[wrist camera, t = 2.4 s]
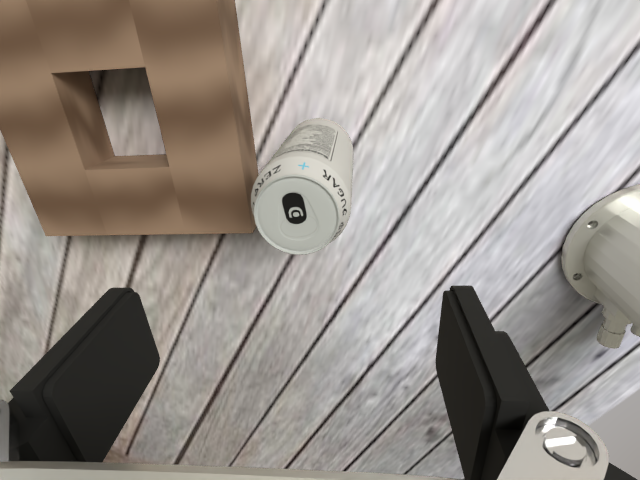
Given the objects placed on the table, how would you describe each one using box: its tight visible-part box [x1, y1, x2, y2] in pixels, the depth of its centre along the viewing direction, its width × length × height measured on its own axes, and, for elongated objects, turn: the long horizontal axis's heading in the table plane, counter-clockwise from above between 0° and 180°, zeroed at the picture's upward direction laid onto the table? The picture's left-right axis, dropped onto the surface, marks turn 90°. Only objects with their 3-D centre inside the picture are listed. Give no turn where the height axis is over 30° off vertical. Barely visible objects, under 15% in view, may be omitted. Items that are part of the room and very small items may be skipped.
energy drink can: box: [251, 118, 353, 255], centre depth 28 cm, size 6×6×15 cm
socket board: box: [0, 0, 259, 236], centre depth 32 cm, size 20×20×4 cm
